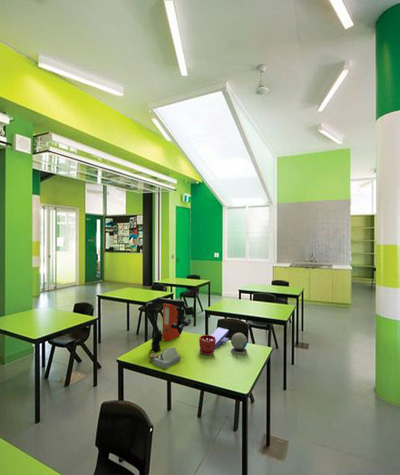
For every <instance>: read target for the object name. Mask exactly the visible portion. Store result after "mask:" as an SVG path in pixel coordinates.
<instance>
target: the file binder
mask: <svg viewBox="0 0 400 475" xmlns="http://www.w3.org/2000/svg"><path fill="white" fill-rule="evenodd" d="M162 304H163V306H162V307H163V308H162V328H161V332H162V336H163V337H162V340H163V341H168V342H171V341H172V340H174V339H176V338H178V337H180V336H181V335H180V334H179V332H178V330H177V329H174V328H171V325H172V324H174V323H175V324H177V323H176V321H177V318H176V317H177V310H175V308H176V307H177V306H175V305H170V304H164V303H162ZM178 308H179V307H178Z"/></svg>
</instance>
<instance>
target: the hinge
mask: <svg viewBox="0 0 400 475" xmlns="http://www.w3.org/2000/svg"><path fill="white" fill-rule="evenodd" d="M177 356H180V355H179V354H178V350H177V348H176V347H168V348H165V349H164V350H162V352H160V354H159V357H160V360H163V361H166V362H168V361H170V360H171V359H173V358H175V357H177Z"/></svg>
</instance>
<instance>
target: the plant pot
mask: <svg viewBox="0 0 400 475" xmlns="http://www.w3.org/2000/svg"><path fill="white" fill-rule="evenodd" d="M210 335H211V334H210ZM210 335H209V334H203V335H200V336H199V339H198V340H199V341H198V344H199V353H200V354H201V355H205V356H206V355H207V356H208V355H213V354H214V353H215V349H214V347H215V343H216V338H215V337H213V336H210ZM207 338H208V340H207ZM209 339H210V340H209ZM211 339H212V340H213V341H211Z"/></svg>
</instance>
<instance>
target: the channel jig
mask: <svg viewBox="0 0 400 475" xmlns="http://www.w3.org/2000/svg"><path fill="white" fill-rule="evenodd" d="M180 361H181V356H180V355H179V356H177V357H175V358H173V359H171V360H170V361H168V362H166V361H163V360H160V356H158V358H155V359H154V362H153V365H154V366H156V367H160V368H163V369H165V370H166V369H169V368H170V367H172V366H173V365H175V364H176V363H178V362H180Z"/></svg>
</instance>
